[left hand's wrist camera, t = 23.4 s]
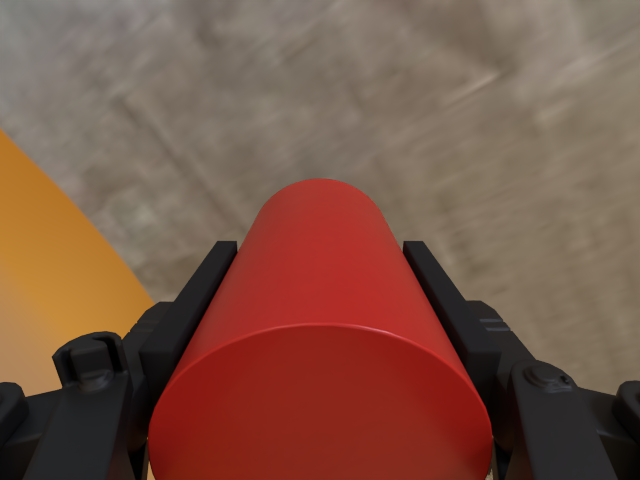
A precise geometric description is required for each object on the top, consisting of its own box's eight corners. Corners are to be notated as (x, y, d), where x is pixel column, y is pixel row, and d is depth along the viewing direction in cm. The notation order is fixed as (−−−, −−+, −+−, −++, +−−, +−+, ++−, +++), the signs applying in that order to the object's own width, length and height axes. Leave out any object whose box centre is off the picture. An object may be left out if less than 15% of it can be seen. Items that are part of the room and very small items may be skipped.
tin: (251, 302, 18) (164, 560, 8) (250, 173, 15) (121, 312, 5) (379, 309, 18) (453, 571, 8) (398, 183, 16) (539, 335, 6)
